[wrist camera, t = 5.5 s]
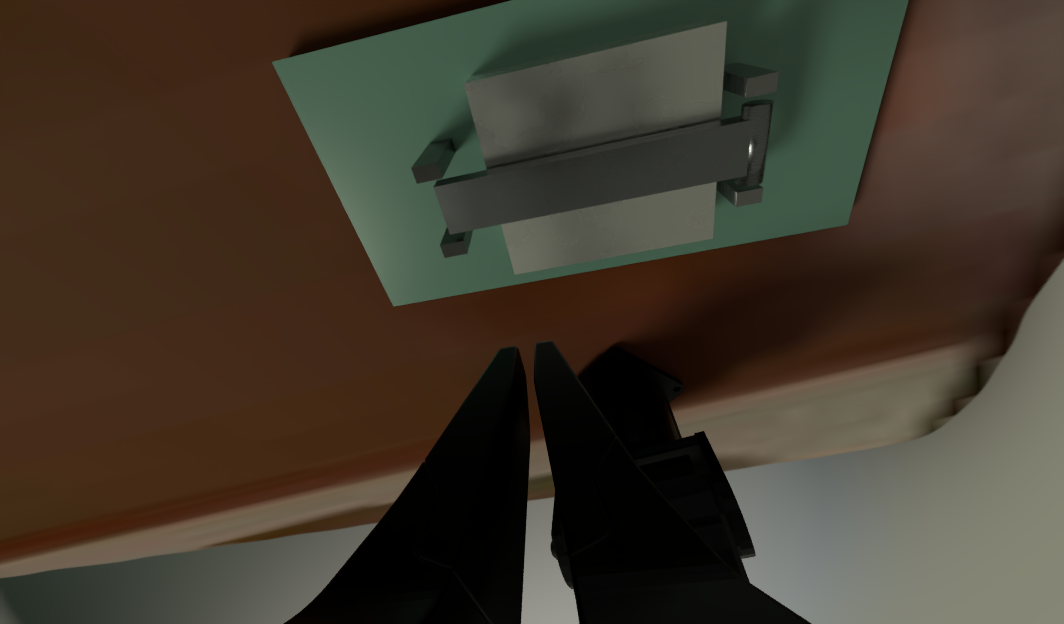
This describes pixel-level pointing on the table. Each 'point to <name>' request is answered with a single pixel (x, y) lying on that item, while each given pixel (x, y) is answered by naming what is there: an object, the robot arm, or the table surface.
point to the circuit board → (563, 26)
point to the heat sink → (604, 137)
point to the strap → (611, 172)
